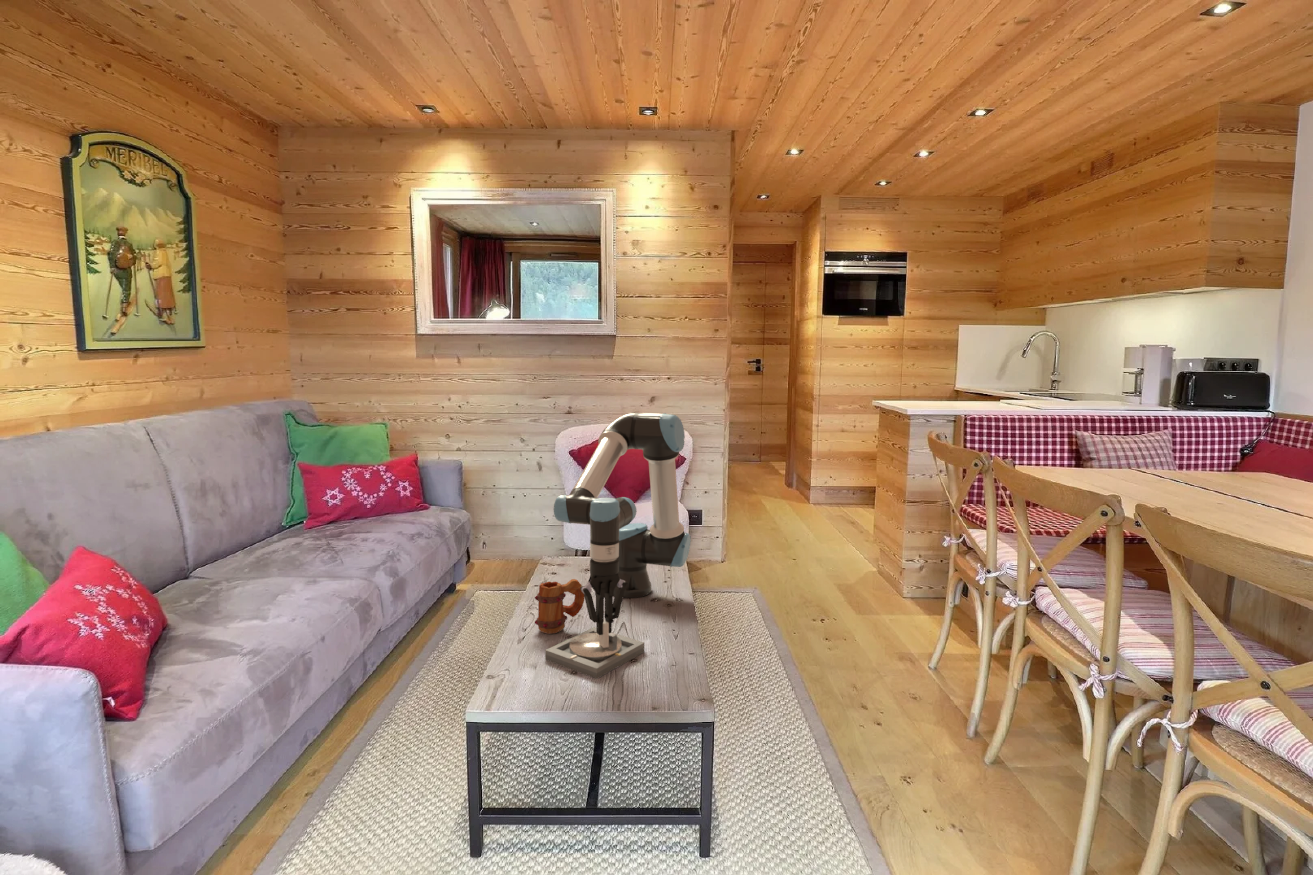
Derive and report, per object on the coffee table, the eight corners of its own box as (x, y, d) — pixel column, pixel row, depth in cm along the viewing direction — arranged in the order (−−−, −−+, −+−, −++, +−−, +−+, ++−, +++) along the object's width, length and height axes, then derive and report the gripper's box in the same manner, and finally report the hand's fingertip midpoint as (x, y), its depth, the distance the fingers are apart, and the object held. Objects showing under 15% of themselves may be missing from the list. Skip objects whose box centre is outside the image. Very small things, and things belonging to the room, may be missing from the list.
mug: (536, 637, 197) (535, 587, 195) (533, 627, 205) (533, 578, 203) (586, 633, 201) (586, 583, 199) (582, 622, 209) (582, 574, 207)
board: (594, 635, 199) (594, 625, 198) (644, 651, 188) (644, 641, 188) (545, 659, 183) (545, 648, 182) (596, 678, 172) (596, 667, 172)
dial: (558, 651, 184) (558, 629, 184) (595, 635, 195) (595, 615, 194) (596, 666, 176) (596, 643, 175) (632, 648, 186) (632, 627, 186)
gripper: (587, 565, 171) (586, 655, 174) (633, 558, 178) (632, 645, 180) (575, 557, 178) (575, 644, 180) (620, 551, 184) (619, 635, 187)
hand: (603, 645), depth 180 cm, fingers closed
